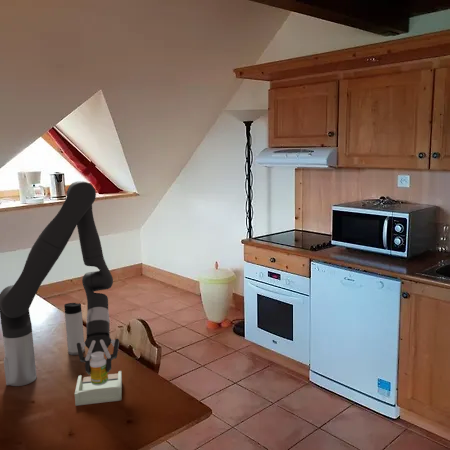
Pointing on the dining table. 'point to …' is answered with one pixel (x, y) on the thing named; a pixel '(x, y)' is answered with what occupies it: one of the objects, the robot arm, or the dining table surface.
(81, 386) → the tray
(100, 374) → the supplement bottle
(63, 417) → the dining table surface
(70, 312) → the travel mug
